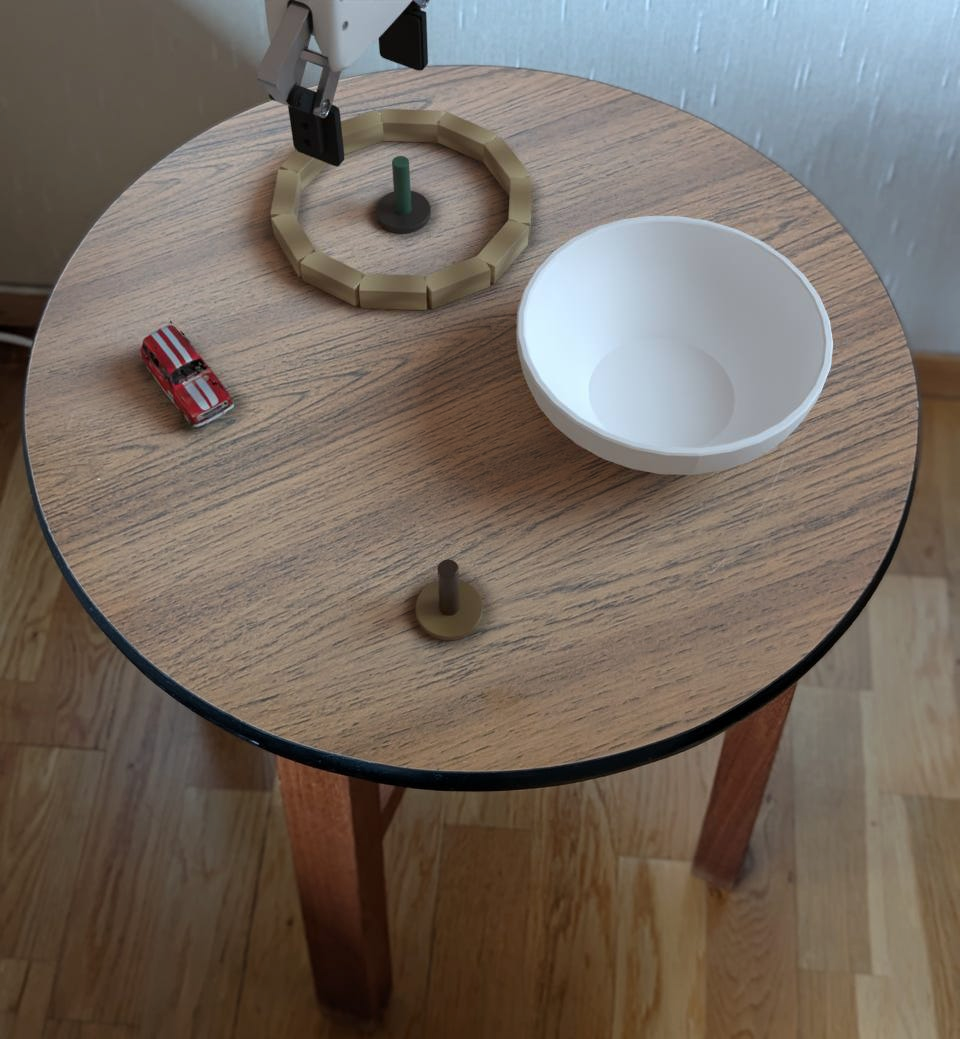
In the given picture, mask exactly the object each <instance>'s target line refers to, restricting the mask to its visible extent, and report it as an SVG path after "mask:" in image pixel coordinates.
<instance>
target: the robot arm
mask: <svg viewBox="0 0 960 1039" xmlns="http://www.w3.org/2000/svg"><path fill="white" fill-rule="evenodd" d="M429 3H430V0H264V8H265V10H264V11H265V19H266V26H267V34H268V39H269V42H270V44H269V46H268V48H267V50H266V52H265V54H264V56H263V58H262V59H261V62H260V64H259V67H258V69H257V71H256V79H257V81H258V83H259V84H260V86H262V88H263V89H264V91H265V92H267V94H268V97H269V99H270V100H271V101H274V102H277V103H279V104H282V105H284V106H287V108H288V110H287V111H288V115H289V123H290V124H289V125H290V130H291V137H292V138H291V139H292V144H293V145H292V146H293V148H294V149H295V151H298V152H300V153H303V154H305V155H308V156H310V157H313V158H315V159H318V160H320V161H323V162H325V163H328V165H331V166H333V167H339V166H341V164H342V163H343V162H344V161H345V155H344V147H343V137H342V127H341V121H342V120H341V119H342V118H341V111H340V107H338V106H336V105H335V104H333V103H334V99H335V96H336V91H337V88H338V84H339V81H340V77H341V74H342V71H345V70H346V69H349V68H350V67H351V66H353V65H354V64H355V63H357V61H358V60H360V58H361V57H362V56H364V54H365V53H366V52H367V51H368V50H370V48H371V47H372V46H373V45H374V44H375V43H376V42H377V41H378V49H379V56H380V57H381V58H382V59H385V60H386V61H390V62H392V63H395V64H398V65H401V66H403V67H406V68H408V69H412V70H414V71H420V72H421V71H423V70H424V69H425V68H426V67H427V66H428V65H429V52H428V51H429V49H428V25H427V24H428V21H427V20H428V19H427V11H425V10H422V9H426V8H427V7H428V6H429ZM312 37H314V41H315V42H316V44H317V47H318V49H319V50H320V52H319V51H316V50H313V49H312V48H309V45H310V43H311V39H312ZM307 62H308V63H310V64H313V65H315V66H318V67H321V68H322V69H321V74H320V77H319V80H318V84H317V88H316V91H315V90H312V89H310V88H307V87H304V86H301V85H302V81H303V78H304V74H305V70H306V67H307Z"/></svg>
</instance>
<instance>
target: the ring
mask: <svg viewBox="0 0 960 1039" xmlns="http://www.w3.org/2000/svg"><path fill="white" fill-rule="evenodd" d="M341 127H342V137H343V147H344V156H345V155H348V154H351V153H353V152H356V151H359V150H362V149H365V148H368V147H371V146H373V145H376V144H379V143H380V144H381V143H382V142H401V143H402V142H403V143H404V142H406V143H433V144H440V145H443V146H445V147H446V148H449V149H451V150H454V151H456V152H458V153H460V154H463V155H464V156H467V157H470V158H471V159H474V160H476V161H478V162H480V163H483V164H484V165H485V166H486V168H487V169H488V171H489V172H490V173H491V174H492V176H493V177H494V178H495V180H496V181H497V182H498V184H499V185H500V187H501V188H502V189H503V190H504V192H505V193H506V194H507V196H508V197H509V198H508V216H507V217H508V220H507V221H506V222H505V223H504V224H503V226H502V227H501V228H499V230H498V231H497V232H496V234H494V236H493V237H492V238H491V239H490V240H489V241H488V242H487V244H486V245H485V246H484V247H483V248H482V249H481V251H480V252H479V253H478V254H477V255H476V256H472V257H471V258H467V259H465V260H462V261H459V262H457V263H455V264H454V263H453V264H451V265H449V266H445V267H444V268H441V269H438V270H436V271H433V272H430V273H427V274H425V275H418V274H417V275H415V274H390V273H389V274H387V273H365V272H362V271H359V270H358V269H356V268H353V266H352V267H351V266H350V265H348V264H345V263H343V262H341V261H340V260H337V259H335V258H333V257H332V256H329V255H327V254H324V253H322V252H321V251H319V250H316V248H315V247H314V244H313V243H312V242H311V240H310V238H309V236H308V235H307V233H306V232H305V230H304V229H303V226H302V225H301V224H300V222H299V220H298V217H299V212H300V211H299V210H300V206H301V198H302V192H303V190H305V188H306V187H307V186H308V185H309V184H310V183H311V182H312V181H313V180H314V179H315V178H316V177H318V175H319V174H320V173H321V172H322V171H323V170H324V169H325V168H326V167H327V166H328V165H329V164H328V163H325V162H323V161H320V160H318V159H315V158H313V157H310V156H308V155H305V154H303V153H300V152H298V151H297V150H295V151H294V152H293V153H292V154H291V155H290V156H289V157H288V158H287V159H286V160H285V161H284V162H283V163H282V164H281V165H280V169H278V170H277V174H276V179H275V184H274V185H275V186H274V191H273V196H272V201H271V208H270V213H269V214H270V221H271V222H270V223H271V227H272V232H273V236H274V238H275V240H276V241H277V244H278V245H279V246H280V248H281V250H282V252H283V254H284V255H285V257H286V258H287V260H288V261H289V263H290V265H291V266H292V268H293V269H294V270H293V271H295V273H296V274H297V276H298V278H301V279H302V281H303V282H305V283H307V284H310V285H311V286H313V287H316V288H318V289H319V290H321V291H323V292H325V293H327V294H329V295H331V296H333V297H335V298H338V299H340V300H341V301H344V302H345V303H347V304H349V305H352V306H353V307H357V306H358V305H360V308H361V309H381V310H404V311H405V310H407V311H410V310H411V311H427V310H428V305H429V307H430V308H431V309H432V310H433V309H437V308H439V307H442V306H444V305H447V304H450V303H452V302H454V301H455V302H456V301H458V300H461V299H462V298H465V297H467V296H470V295H472V294H473V295H474V294H475V293H477V292H480V291H483V290H485V289H489V288H490V287H491V284H493V285H496V283H497V282H498V281H499V279H500V278H501V277H502V276H503V275H504V274H505V273H506V271H507V270H508V269H509V268H510V267H511V265H512V264H513V263H514V262H515V261H516V260H517V258H518V257H519V256H520V255H521V254H522V253H523V252H524V250H525V249H526V248H527V247H528V245H529V241H531V226H532V198H533V197H532V196H533V193H532V191H533V178H532V177H531V173H530V172H529V171H528V169H527V167H525V165H524V164H523V162H522V161H521V160H520V159H519V157H518V156H517V155H516V154H515V152H514V151H513V149H512V148H511V147H510V145H509V144H508V143H507V142H506V141H505V139H504V138H503V137H502V136H499V137H498V135H499V134H498V133H497V132H495V131H493V130H490V129H488V128H486V127H483V126H480V125H479V124H476V123H474V122H472V121H469V120H467V119H465V118H462V117H460V116H457V115H455V114H453V113H451V112H448V111H446V112H445V113H444V114H443V111H442V110H438V109H437V110H436V109H434V110H432V109H431V110H430V109H408V108H407V109H405V108H399V109H398V108H381V110H380V112H379V111H378V110H377V109H374V110H371V111H368V112H365V113H362V114H359V115H356V116H353V117H350V118H346V119H344V120H341Z"/></svg>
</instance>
